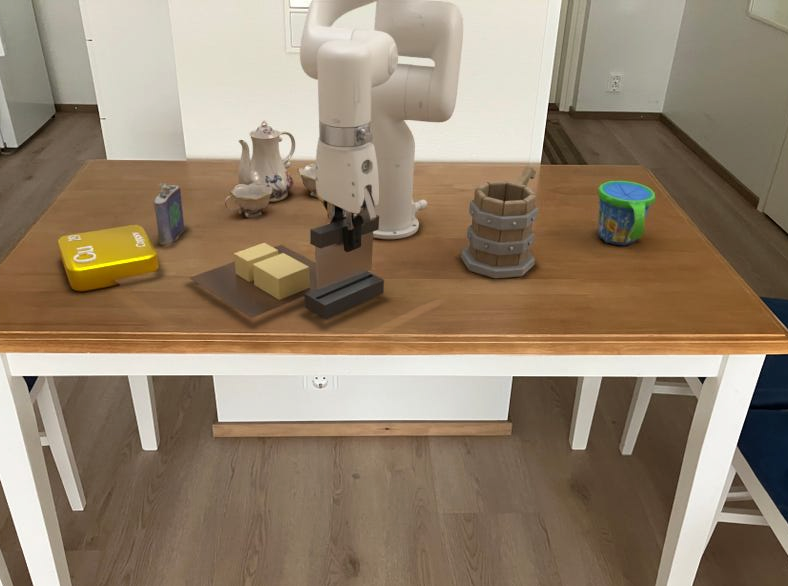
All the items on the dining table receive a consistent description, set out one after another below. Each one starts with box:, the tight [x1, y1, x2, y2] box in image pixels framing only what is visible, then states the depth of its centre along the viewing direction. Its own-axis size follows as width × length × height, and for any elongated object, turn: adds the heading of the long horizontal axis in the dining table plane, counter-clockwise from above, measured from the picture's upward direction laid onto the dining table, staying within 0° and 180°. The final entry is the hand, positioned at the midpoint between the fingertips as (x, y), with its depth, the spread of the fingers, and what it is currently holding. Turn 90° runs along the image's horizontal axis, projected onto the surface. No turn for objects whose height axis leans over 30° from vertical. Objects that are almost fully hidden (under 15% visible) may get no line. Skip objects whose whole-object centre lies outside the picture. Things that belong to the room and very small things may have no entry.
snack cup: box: [597, 180, 656, 246], centre depth 152 cm, size 16×11×10 cm
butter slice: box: [233, 242, 278, 282], centre depth 135 cm, size 6×4×4 cm, turn 134°
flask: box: [153, 183, 186, 247], centre depth 147 cm, size 9×3×11 cm, turn 172°
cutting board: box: [189, 244, 315, 319], centre depth 135 cm, size 20×18×2 cm
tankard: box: [460, 165, 539, 279], centre depth 143 cm, size 20×13×15 cm, turn 147°
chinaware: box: [224, 119, 318, 218], centre depth 163 cm, size 28×17×17 cm, turn 139°
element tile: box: [57, 224, 160, 292], centre depth 138 cm, size 15×15×5 cm
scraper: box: [309, 215, 379, 290], centre depth 124 cm, size 12×2×10 cm, turn 134°
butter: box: [253, 253, 310, 300], centre depth 131 cm, size 6×7×4 cm
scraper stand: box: [304, 271, 385, 320], centre depth 128 cm, size 13×5×4 cm, turn 134°
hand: (345, 244), depth 124 cm, fingers closed on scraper, 2 cm apart
